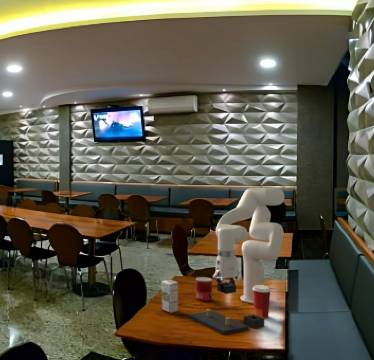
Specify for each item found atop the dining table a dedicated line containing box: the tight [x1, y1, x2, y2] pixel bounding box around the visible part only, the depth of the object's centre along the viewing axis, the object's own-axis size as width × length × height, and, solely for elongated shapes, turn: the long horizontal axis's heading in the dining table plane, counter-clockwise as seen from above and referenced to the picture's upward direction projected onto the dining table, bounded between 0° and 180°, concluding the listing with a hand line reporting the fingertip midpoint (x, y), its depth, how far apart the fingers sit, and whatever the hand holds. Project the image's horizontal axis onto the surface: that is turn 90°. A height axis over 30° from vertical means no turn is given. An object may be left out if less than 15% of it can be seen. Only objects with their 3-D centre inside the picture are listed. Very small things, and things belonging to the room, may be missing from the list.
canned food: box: [195, 276, 213, 302], centre depth 235 cm, size 8×8×11 cm
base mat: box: [188, 308, 250, 336], centre depth 201 cm, size 14×22×4 cm, turn 21°
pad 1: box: [216, 281, 237, 295], centre depth 212 cm, size 6×6×4 cm
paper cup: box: [253, 285, 272, 319], centre depth 209 cm, size 8×8×14 cm
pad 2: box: [243, 314, 265, 329], centre depth 198 cm, size 6×6×4 cm
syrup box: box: [161, 279, 179, 314], centre depth 219 cm, size 6×6×14 cm
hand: (226, 290), depth 212 cm, fingers closed on pad 1, 6 cm apart
